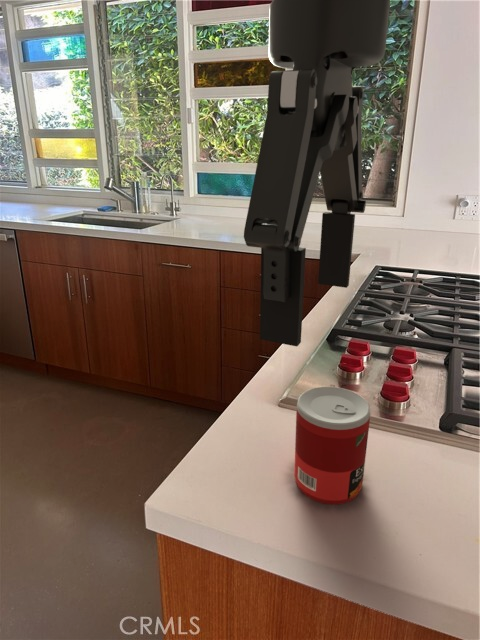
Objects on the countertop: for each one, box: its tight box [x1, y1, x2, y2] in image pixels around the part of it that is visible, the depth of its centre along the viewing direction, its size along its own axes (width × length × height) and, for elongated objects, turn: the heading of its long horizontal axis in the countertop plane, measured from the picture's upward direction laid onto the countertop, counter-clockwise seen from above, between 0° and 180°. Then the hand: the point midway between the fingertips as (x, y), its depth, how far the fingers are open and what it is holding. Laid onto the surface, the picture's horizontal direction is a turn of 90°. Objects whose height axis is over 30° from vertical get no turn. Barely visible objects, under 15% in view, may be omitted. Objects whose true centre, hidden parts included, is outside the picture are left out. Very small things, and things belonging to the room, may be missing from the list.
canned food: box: [293, 386, 371, 505], centre depth 53 cm, size 8×8×11 cm
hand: (310, 309), depth 37 cm, fingers open, 13 cm apart
